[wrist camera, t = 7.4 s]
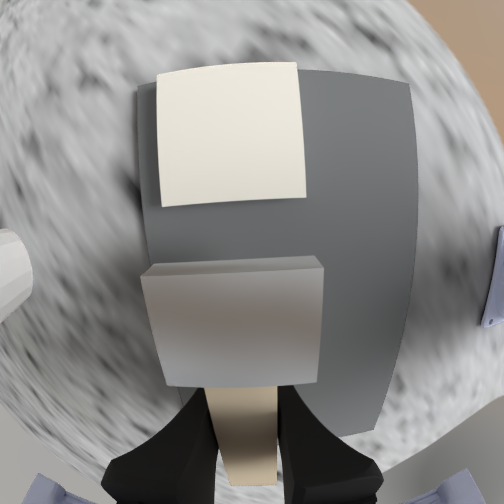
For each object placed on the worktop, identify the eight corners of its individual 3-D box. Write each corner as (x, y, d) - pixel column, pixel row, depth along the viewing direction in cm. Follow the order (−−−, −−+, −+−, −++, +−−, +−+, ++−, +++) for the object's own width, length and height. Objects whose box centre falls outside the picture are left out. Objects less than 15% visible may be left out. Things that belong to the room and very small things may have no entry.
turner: (292, 419, 15) (301, 482, 10) (214, 422, 15) (206, 484, 10) (295, 231, 12) (323, 267, 7) (182, 238, 12) (139, 276, 7)
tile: (300, 195, 12) (291, 73, 11) (306, 197, 11) (296, 62, 9) (171, 203, 12) (165, 84, 11) (162, 206, 11) (157, 74, 10)
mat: (403, 86, 11) (408, 83, 11) (371, 424, 17) (373, 429, 17) (142, 89, 11) (137, 86, 11) (197, 439, 18) (196, 445, 17)
